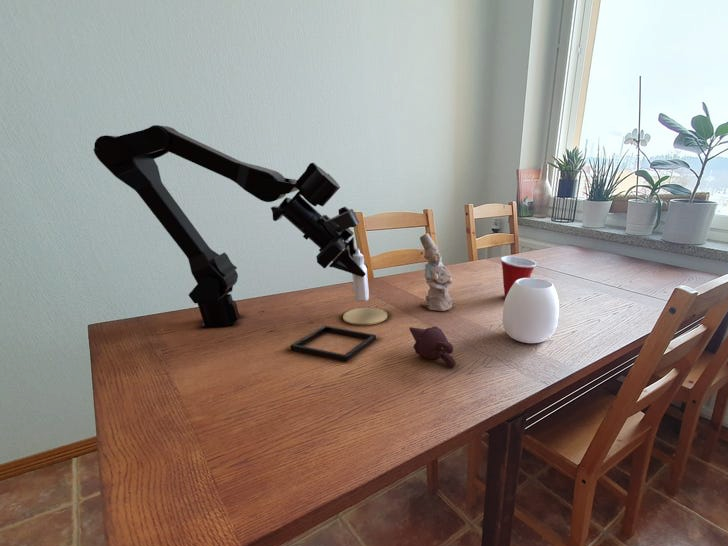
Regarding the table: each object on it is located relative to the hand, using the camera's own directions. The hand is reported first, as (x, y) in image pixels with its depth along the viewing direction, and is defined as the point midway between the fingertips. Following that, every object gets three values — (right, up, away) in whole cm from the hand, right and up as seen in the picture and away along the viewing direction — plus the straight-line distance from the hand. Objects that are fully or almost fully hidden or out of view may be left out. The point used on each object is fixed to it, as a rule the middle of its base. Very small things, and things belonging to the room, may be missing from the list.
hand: (365, 272), depth 89 cm
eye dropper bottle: (-2, -6, +3) cm, 7 cm away
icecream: (+17, -21, -10) cm, 28 cm away
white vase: (+39, -16, +2) cm, 42 cm away
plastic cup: (+38, -2, +26) cm, 47 cm away
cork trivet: (-2, -10, +7) cm, 12 cm away
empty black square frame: (-4, -18, -8) cm, 20 cm away
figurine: (+16, -6, +16) cm, 23 cm away
